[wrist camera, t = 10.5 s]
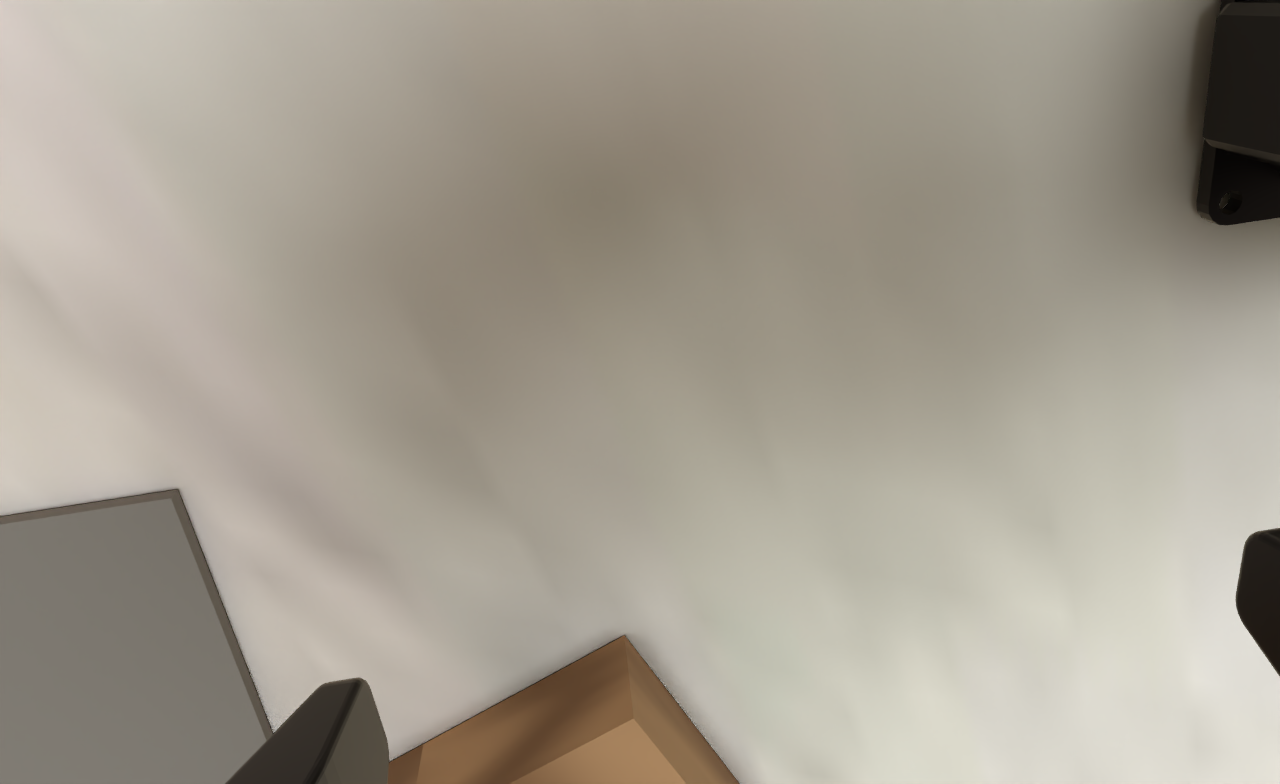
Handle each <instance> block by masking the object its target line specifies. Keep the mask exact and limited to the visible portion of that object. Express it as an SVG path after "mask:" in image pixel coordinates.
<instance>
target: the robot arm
mask: <svg viewBox="0 0 1280 784" xmlns="http://www.w3.org/2000/svg"><path fill="white" fill-rule="evenodd" d="M1203 137H1204V147H1203V155H1202V163H1201V171H1200V180H1199V188H1198V196H1197V211H1198V213H1199V214H1200V216H1201V217H1202V218H1204V219H1205V220H1207V221H1210V222H1213V223H1216V224H1219V225H1233V224H1239V223H1246V222H1253V221H1259V220H1266V219H1272V218H1279V217H1280V0H1221V7H1220V14H1219V16H1218V17H1217V20H1216V28H1215V36H1214V45H1213V53H1212V61H1211V69H1210V78H1209V86H1208V94H1207V103H1206V111H1205V119H1204V128H1203ZM1226 193H1229V194H1230V199H1229V201H1228V204H1227V205H1226V206H1225V207H1224V208H1222V209H1220V206H1219V204H1220V201H1221V199H1222V197H1223V196H1224V195H1225V194H1226ZM1236 607H1237V611H1238V614H1239V616H1240V618H1241V621H1242V622H1243V624H1244V626H1245V627H1246V629H1247V630H1248V631H1249V633H1250V634H1251V636H1252V637H1253V639H1254V640H1255V642H1256V643H1257V644H1258V646H1259V647H1260V649H1261V650H1262V652H1263V653H1264V654H1265V656H1266V657H1267V659H1268V660H1269V662H1270V663H1271V665H1272V666H1273V667H1274V669H1275V670H1276V672H1277V673H1278V675H1279V676H1280V528H1276V529H1270V530H1264V531H1258V532H1255V533H1253V534H1251V535H1250V536H1249V537H1248V539H1247V540H1246V542H1245V545H1244V550H1243V556H1242V562H1241V568H1240V574H1239V579H1238V585H1237V591H1236ZM388 769H389V750H388V743H387V738H386V735H385V732H384V729H383V726H382V722H381V719H380V716H379V713H378V710H377V707H376V704H375V701H374V698H373V695H372V692H371V689H370V686H369V685H368V683H367V682H366V681H365V680H363V679H361V678H352V679H346V680H339V681H333V682H328V683H325V684H323V685H321V686H320V687H319V688H317V689H316V690H315V691H314V692H313V693H312V694H311V695H310V696H309V698H308V699H307V700H306V701H305V702H304V703H303V704H302V705H301V706H300V707H299V708H298V709H297V710H296V711H295V712H294V713H293V714H292V715H291V716H290V717H289V718H288V719H287V720H286V721H285V722H284V723H283V724H282V725H281V726H280V727H279V728H278V729H277V730H276V731H275V732H274V734H273V735H272V736H271V737H270V738H269V739H268V740H267V741H266V742H265V743H264V744H263V745H262V746H261V747H260V748H259V749H258V750H257V751H256V752H255V753H254V754H253V755H252V756H251V757H250V758H249V759H248V760H247V761H246V762H245V763H244V764H243V765H242V766H241V767H240V768H239V770H238V771H237V772H236V773H235V774H234V775H233V776H232V777H231V778H230V779H229V780H228V781H227V782H226V783H225V784H387V782H388Z"/></svg>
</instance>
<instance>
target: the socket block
mask: <svg viewBox="0 0 1280 784" xmlns="http://www.w3.org/2000/svg"><path fill="white" fill-rule="evenodd" d="M387 784H739V783H738V781H737V780H736V779H735V777H734V776H733V775H732V773H731V772H730V771H729V770H728V768H727V767H726V766H725V764H724V763H723V762H722V761H721V759H720V758H719V757H718V755H717V754H716V753H715V752H714V750H713V749H712V748H711V746H710V745H709V744H708V742H707V741H706V740H705V739H704V737H703V736H702V735H701V733H700V732H699V731H698V730H697V728H696V727H695V726H694V724H693V723H692V722H691V721H690V719H689V718H688V717H687V715H686V714H685V713H684V711H683V710H682V709H681V708H680V706H679V705H678V704H677V702H676V701H675V700H674V699H673V697H672V696H671V695H670V693H669V692H668V691H667V690H666V688H665V687H664V686H663V684H662V683H661V682H660V680H659V679H658V678H657V677H656V675H655V674H654V673H653V671H652V670H651V669H650V668H649V666H648V665H647V664H646V662H645V661H644V660H643V659H642V657H641V656H640V655H639V653H638V652H637V651H636V649H635V648H634V647H633V646H632V644H631V643H630V642H629V640H628V639H627V638H626V637H625V635H624V636H622V637H621V638H619V639H617V640H615V641H613V642H611V643H609V644H608V645H606V646H604V647H602V648H600V649H598V650H596V651H595V652H593V653H591V654H589V655H587V656H585V657H584V658H582V659H580V660H578V661H576V662H574V663H572V664H571V665H569V666H567V667H565V668H563V669H561V670H560V671H558V672H556V673H554V674H552V675H550V676H548V677H547V678H545V679H543V680H541V681H539V682H537V683H536V684H534V685H532V686H530V687H528V688H526V689H524V690H523V691H521V692H519V693H517V694H515V695H513V696H511V697H510V698H508V699H506V700H504V701H502V702H500V703H499V704H497V705H495V706H493V707H491V708H489V709H487V710H486V711H484V712H482V713H480V714H478V715H476V716H475V717H473V718H471V719H469V720H467V721H465V722H463V723H462V724H460V725H458V726H456V727H454V728H452V729H451V730H449V731H447V732H445V733H443V734H441V735H439V736H438V737H436V738H434V739H432V740H430V741H428V742H426V743H425V744H423V745H421V746H419V747H417V748H415V749H414V750H412V751H410V752H408V753H406V754H404V755H402V756H401V757H399V758H397V759H395V760H393V761H391V762H390V763H389V769H388V782H387Z"/></svg>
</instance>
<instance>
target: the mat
mask: <svg viewBox="0 0 1280 784" xmlns="http://www.w3.org/2000/svg"><path fill="white" fill-rule="evenodd" d="M272 735H273V733H272V731H271V728H270V726H269V723H268V721H267V718H266V715H265V713H264V710H263V708H262V705H261V703H260V700H259V697H258V695H257V692H256V690H255V687H254V685H253V682H252V679H251V677H250V674H249V672H248V669H247V667H246V664H245V661H244V659H243V656H242V654H241V651H240V649H239V646H238V643H237V641H236V638H235V636H234V633H233V631H232V628H231V625H230V623H229V620H228V618H227V615H226V613H225V610H224V607H223V605H222V602H221V600H220V597H219V595H218V592H217V589H216V587H215V584H214V582H213V579H212V577H211V574H210V571H209V569H208V566H207V564H206V561H205V559H204V556H203V553H202V551H201V548H200V546H199V543H198V541H197V538H196V535H195V533H194V530H193V528H192V525H191V523H190V520H189V517H188V515H187V512H186V510H185V507H184V505H183V502H182V499H181V497H180V494H179V492H178V490H171V491H165V492H158V493H152V494H145V495H139V496H132V497H126V498H119V499H113V500H106V501H100V502H93V503H87V504H81V505H74V506H68V507H61V508H55V509H48V510H42V511H35V512H29V513H22V514H16V515H9V516H3V517H0V784H225V783H226V782H227V781H228V780H229V779H230V778H231V777H232V776H233V775H234V774H235V773H236V772H237V771H238V770H239V768H240V767H241V766H242V765H243V764H244V763H245V762H246V761H247V760H248V759H249V758H250V757H251V756H252V755H253V754H254V753H255V752H256V751H257V750H258V749H259V748H260V747H261V746H262V745H263V744H264V743H265V742H266V741H267V740H268V739H269V738H270V737H271V736H272Z"/></svg>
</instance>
